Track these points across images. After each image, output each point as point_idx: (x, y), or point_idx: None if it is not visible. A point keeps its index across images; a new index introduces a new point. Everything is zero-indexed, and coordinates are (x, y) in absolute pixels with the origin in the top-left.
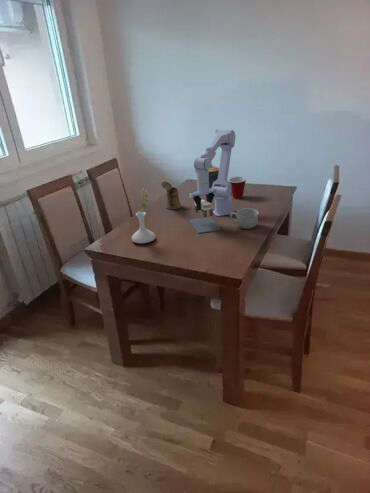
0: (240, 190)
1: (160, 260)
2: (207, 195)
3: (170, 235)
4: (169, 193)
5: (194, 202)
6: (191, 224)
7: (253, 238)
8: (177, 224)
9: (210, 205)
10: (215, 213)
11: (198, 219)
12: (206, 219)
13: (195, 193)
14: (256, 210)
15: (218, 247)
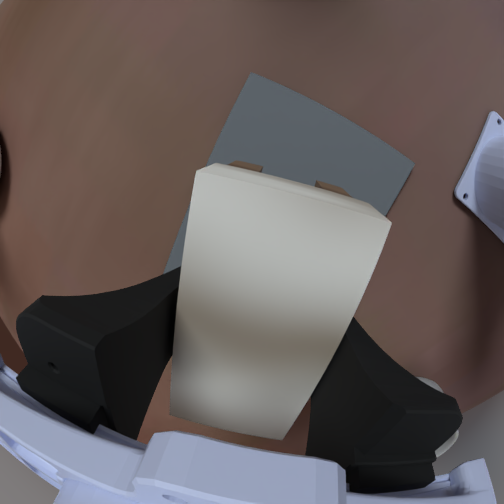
0: None
1: (3, 314)
2: (342, 444)
3: (52, 191)
4: None
5: (203, 169)
6: (215, 147)
7: (298, 448)
8: (153, 73)
9: (247, 430)
10: (475, 159)
11: (315, 125)
12: (357, 178)
13: (19, 452)
14: (439, 454)
15: (157, 408)
